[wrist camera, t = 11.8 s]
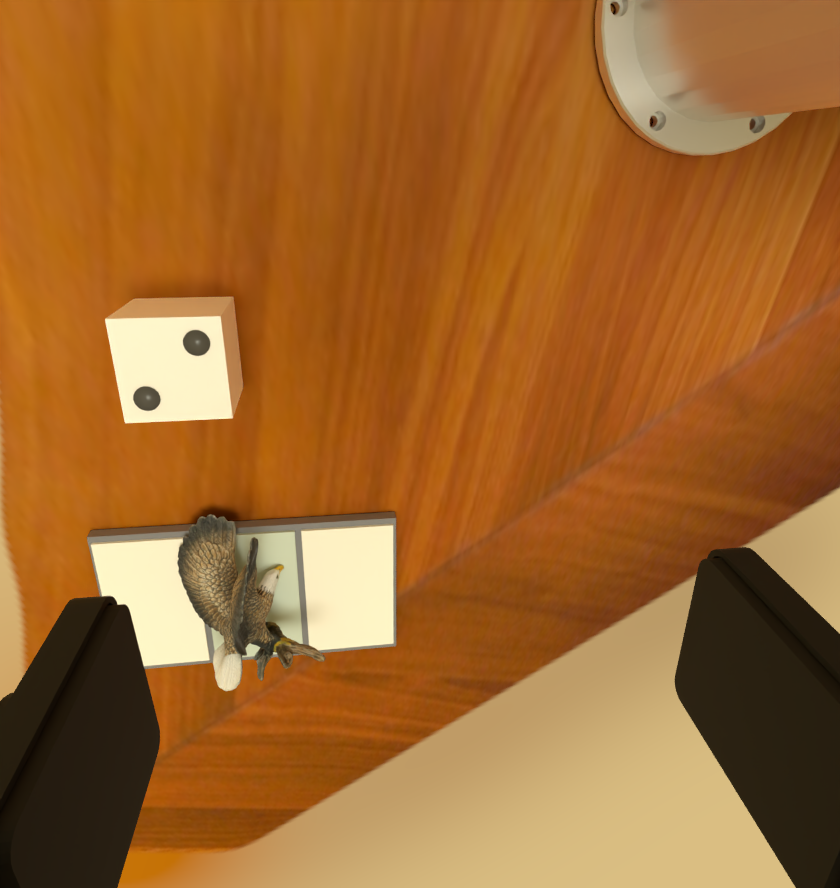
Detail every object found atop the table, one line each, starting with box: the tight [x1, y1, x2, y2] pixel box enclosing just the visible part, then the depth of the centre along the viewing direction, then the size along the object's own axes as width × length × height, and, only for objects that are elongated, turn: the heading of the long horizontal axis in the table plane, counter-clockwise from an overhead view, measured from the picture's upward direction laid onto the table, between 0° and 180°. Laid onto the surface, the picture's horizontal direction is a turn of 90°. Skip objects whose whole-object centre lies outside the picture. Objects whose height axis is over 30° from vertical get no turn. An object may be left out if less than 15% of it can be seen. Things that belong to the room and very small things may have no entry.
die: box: [105, 297, 243, 423], centre depth 32 cm, size 5×5×5 cm
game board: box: [87, 512, 396, 669], centre depth 40 cm, size 18×10×1 cm, turn 89°
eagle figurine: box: [177, 514, 325, 691], centre depth 36 cm, size 8×7×9 cm
